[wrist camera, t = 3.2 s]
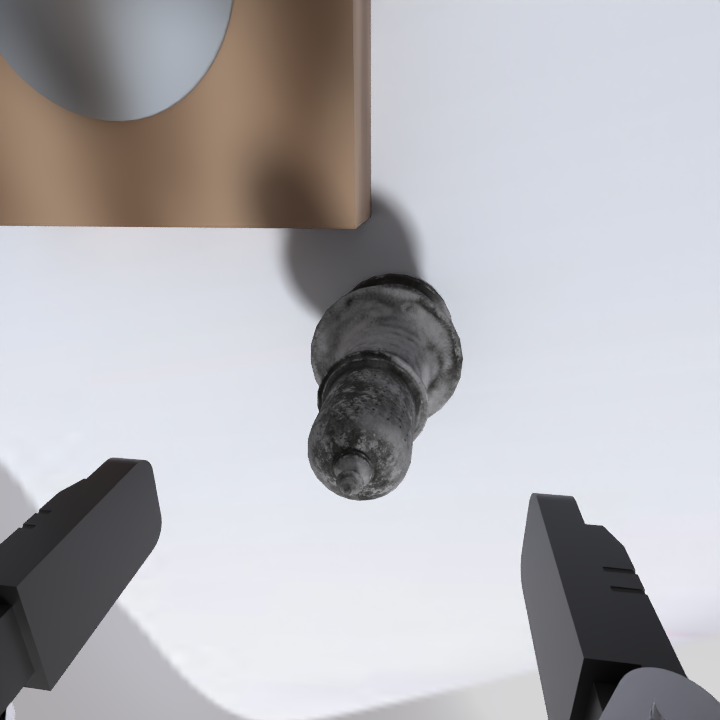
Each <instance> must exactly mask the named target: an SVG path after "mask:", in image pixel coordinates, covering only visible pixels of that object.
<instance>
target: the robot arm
mask: <svg viewBox="0 0 720 720" xmlns="http://www.w3.org/2000/svg"><path fill="white" fill-rule="evenodd" d="M161 524H162V521H161V513H160V507H159V502H158V496H157V491H156V485H155V480H154V474H153V469H152V466H151V464H150V463H149V462H148V461H146V460H136V459H124V458H110V459H108V460H107V461H106V462H104V463H103V464H102V465H101V466H100V467H99V468H98V469H97V470H96V471H95V472H94V473H92V474H91V475H90V476H89V477H88V478H87V479H83V480H81V481H79V482H77V483H75V484H73V485H72V486H70V487H68V488H66V489H64V490H62V491H61V492H59V493H58V494H56V495H55V496H54V497H53V498H52V499H51V500H50V501H49V502H47V503H46V504H45V505H44V506H43V507H42V508H41V509H40V510H39V513H35V514H34V515H33V516H32V517H31V518H30V519H28V520H27V521H26V522H25V523H24V524H23V527H22V528H18V529H17V530H16V531H15V532H14V533H13V534H11V535H10V536H9V537H8V538H7V539H6V540H5V541H3V542H2V543H1V544H0V720H15V709H14V706H13V703H12V701H13V699H14V698H15V697H16V695H17V694H18V693H19V692H20V690H21V689H22V688H23V687H28V688H35V689H42V690H48V691H51V690H52V688H53V687H54V686H55V684H56V683H57V682H58V680H59V679H60V678H61V676H62V675H63V673H64V672H65V671H66V669H67V668H68V666H69V665H70V664H71V662H72V661H73V660H74V658H75V657H76V655H77V654H78V652H79V651H80V650H81V648H82V647H83V646H84V644H85V643H86V641H87V640H88V639H89V637H90V636H91V635H92V633H93V632H94V630H95V629H96V628H97V626H98V625H99V623H100V622H101V621H102V619H103V618H104V617H105V615H106V614H107V612H108V611H109V610H110V608H111V607H112V606H113V604H114V603H115V601H116V600H117V599H118V597H119V596H120V595H121V593H122V592H123V590H124V589H125V588H126V586H127V585H128V583H129V582H130V581H131V579H132V578H133V577H134V575H135V574H136V572H137V571H138V570H139V568H140V567H141V566H142V564H143V563H144V561H145V560H146V559H147V557H148V556H149V554H150V553H151V552H152V550H153V549H154V547H155V546H156V544H157V541H158V539H159V536H160V532H161ZM521 582H522V589H523V594H524V599H525V604H526V609H527V614H528V619H529V624H530V629H531V634H532V639H533V644H534V649H535V654H536V659H537V665H538V670H539V674H540V680H541V684H542V690H543V694H544V700H545V705H546V710H547V715H548V720H720V703H719V702H718V701H717V700H716V699H715V698H714V697H713V696H712V695H711V694H710V693H708V692H707V691H706V690H705V689H703V688H702V687H701V686H699V685H698V684H696V683H695V682H693V681H691V680H689V679H688V678H687V676H686V674H685V672H684V670H683V668H682V666H681V664H680V662H679V660H678V658H677V656H676V654H675V652H674V649H673V647H672V645H671V643H670V641H669V639H668V637H667V635H666V633H665V631H664V629H663V627H662V625H661V622H660V620H659V618H658V616H657V614H656V612H655V610H654V608H653V606H652V604H651V602H650V600H649V597H648V595H645V589H644V587H643V585H642V583H641V581H640V579H639V577H638V575H637V574H635V568H634V566H633V564H632V562H631V560H630V558H629V556H628V554H627V552H626V550H625V548H624V546H623V545H622V544H621V543H620V542H619V541H618V540H617V539H616V538H615V537H614V536H613V535H612V534H611V533H610V532H609V531H608V530H607V529H606V528H604V527H603V526H598V525H587V524H585V523H584V520H583V518H582V515H581V513H580V510H579V508H578V506H577V503H576V501H575V499H574V497H572V496H563V495H550V494H538V493H533V494H532V495H531V497H530V501H529V507H528V514H527V521H526V527H525V534H524V541H523V548H522V555H521Z"/></svg>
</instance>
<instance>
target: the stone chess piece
mask: <svg viewBox="0 0 720 720" xmlns="http://www.w3.org/2000/svg"><path fill="white" fill-rule="evenodd" d="M462 361H463V357H462V350H461V344H460V338H459V336H458V334H457V332H456V330H455V328H454V326H453V323H452V321H451V315H450V313H449V311H448V309H447V306H446V304H445V302H444V301H443V299H442V298H441V297H440V296H439V295H438V294H437V292H436V291H435V290H434V289H433V288H431V287H430V286H428V285H427V284H425V283H424V282H422V281H421V280H418V279H416V278H413V277H410V276H407V275H399V274H385V275H380V276H374V277H372V278H370V279H368V280H366V281H364V282H362V283H360V284H359V285H358V286H356V287H355V288H354V289H353V290H352V291H351V292H349V293H348V294H347V295H345V296H343V297H341V298H340V299H339V300H338V301H337V302H336V303H335V304H333V305H332V306H331V307H330V308H329V309H328V310H327V311H326V312H325V314H324V316H323V317H322V319H321V320H320V322H319V323H318V325H317V326H316V330H315V333H314V336H313V340H312V343H311V364H312V368H313V372H314V376H315V380H316V382H317V383H318V385H319V389H318V404H317V405H318V409H319V413H318V415H317V417H316V419H315V421H314V423H313V425H312V428H311V431H310V434H309V438H308V458H309V461H310V465H311V468H312V470H313V471H314V473H315V475H316V477H317V478H318V479H319V480H320V481H321V482H322V483H323V484H324V485H325V486H326V487H327V488H328V489H329V490H331V491H332V492H334V493H335V494H337V495H339V496H342V497H344V498H347V499H352V500H359V501H361V500H372V499H376V498H379V497H382V496H385V495H387V494H388V493H390V492H391V491H393V490H394V489H396V487H397V486H398V485H399V484H400V483H401V481H402V480H403V479H404V477H405V475H406V473H407V471H408V468H409V466H410V463H411V454H412V445H413V441H414V440H415V439H416V438H417V436H418V435H419V434H420V433H421V432H422V430H423V428H424V426H425V423H426V421H427V418H429V417H430V416H431V415H433V414H434V413H436V412H437V411H439V410H440V409H441V408H442V407H443V406H444V405H445V403H446V402H447V401H448V400H449V399H450V397H451V396H452V395H453V393H454V391H455V388H456V386H457V384H458V382H459V379H460V376H461V369H462Z"/></svg>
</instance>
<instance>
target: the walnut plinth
mask: <svg viewBox="0 0 720 720" xmlns="http://www.w3.org/2000/svg"><path fill="white" fill-rule="evenodd" d="M370 217H371V0H0V226H98V227H207V228H317V229H356V228H357V227H359V226H360V225H361V224H362V223H364V222H365V221H366V220H368V219H369V218H370Z"/></svg>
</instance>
